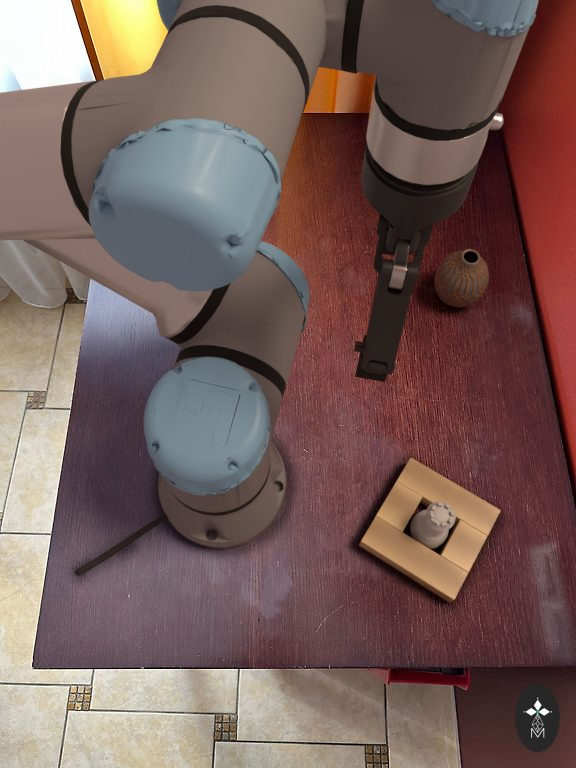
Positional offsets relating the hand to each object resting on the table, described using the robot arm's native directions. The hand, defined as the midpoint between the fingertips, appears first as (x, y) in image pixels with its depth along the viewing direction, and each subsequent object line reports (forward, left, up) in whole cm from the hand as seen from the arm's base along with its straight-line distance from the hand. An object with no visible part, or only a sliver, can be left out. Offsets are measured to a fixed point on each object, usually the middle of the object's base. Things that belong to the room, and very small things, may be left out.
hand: (381, 311), depth 64 cm
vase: (+22, +5, -25) cm, 34 cm away
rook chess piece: (-3, -17, -25) cm, 30 cm away
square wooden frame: (-3, -17, -25) cm, 30 cm away
